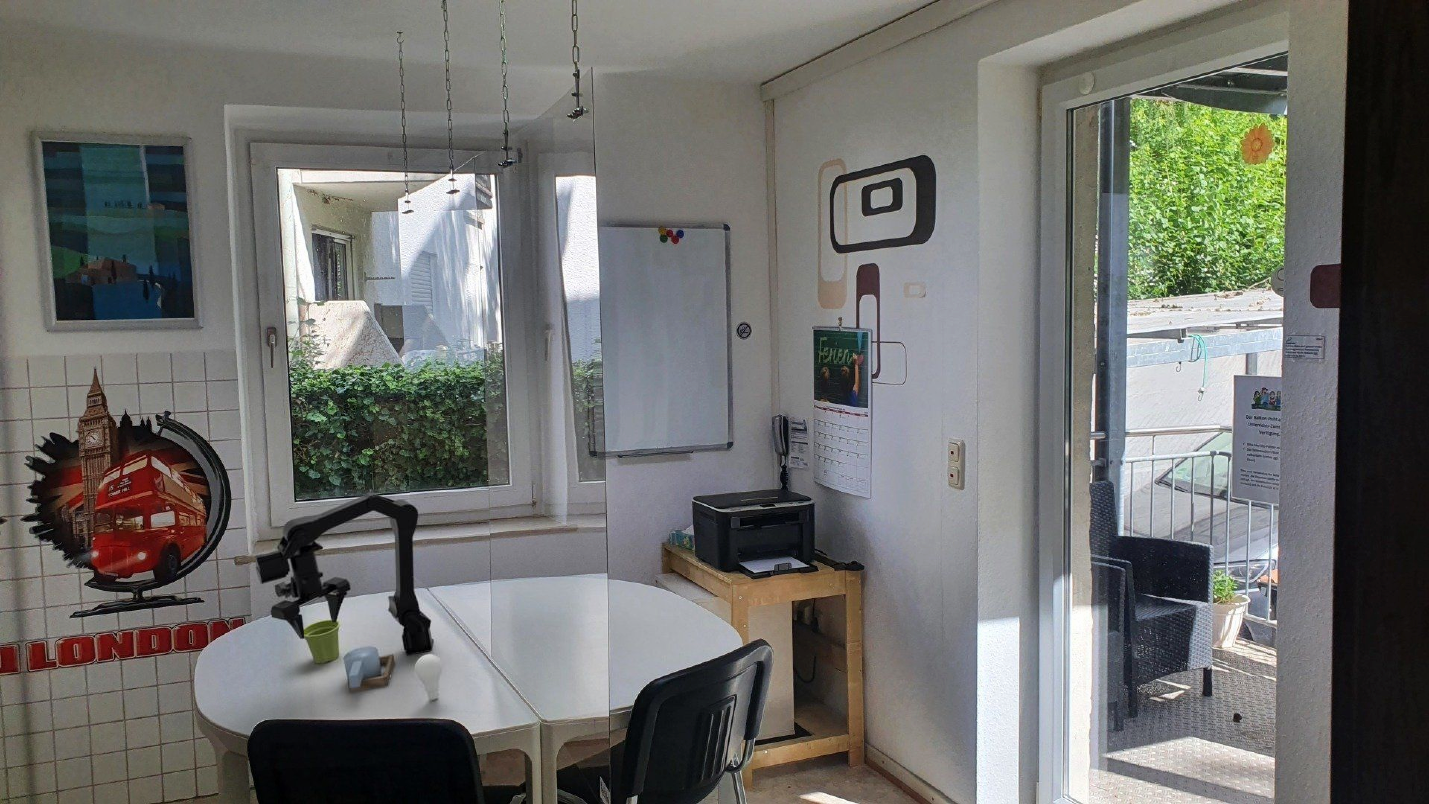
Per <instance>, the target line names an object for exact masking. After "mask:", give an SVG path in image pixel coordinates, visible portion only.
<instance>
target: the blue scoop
mask: <svg viewBox="0 0 1429 804" xmlns="http://www.w3.org/2000/svg"><path fill="white" fill-rule="evenodd" d="M378 650H379V649H378V648H377V647H375V646H361V647H358V648H354V649H352V650H350V651H348V652H347V653H345V654H344V656H343V664H344V669H345V673H346V678H347V684H348V685H349V682H350V687H351V688H354V687H360V684H361V681H362V680H364V679H369V678H375V677H380V676H383V672H382V671H383V670H382V666H381V665H380V660H379V656H380V654H379V651H378ZM350 687H349V688H350Z"/></svg>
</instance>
